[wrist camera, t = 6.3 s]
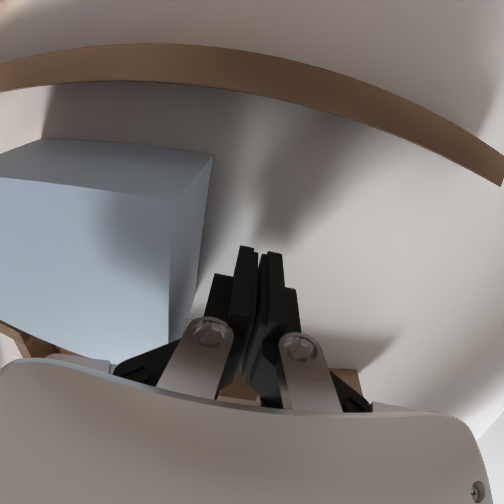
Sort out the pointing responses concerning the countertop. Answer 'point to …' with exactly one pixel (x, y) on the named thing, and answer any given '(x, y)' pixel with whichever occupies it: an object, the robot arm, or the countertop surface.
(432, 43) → the countertop surface
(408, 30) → the countertop surface
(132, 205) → the block
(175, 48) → the channel walls
